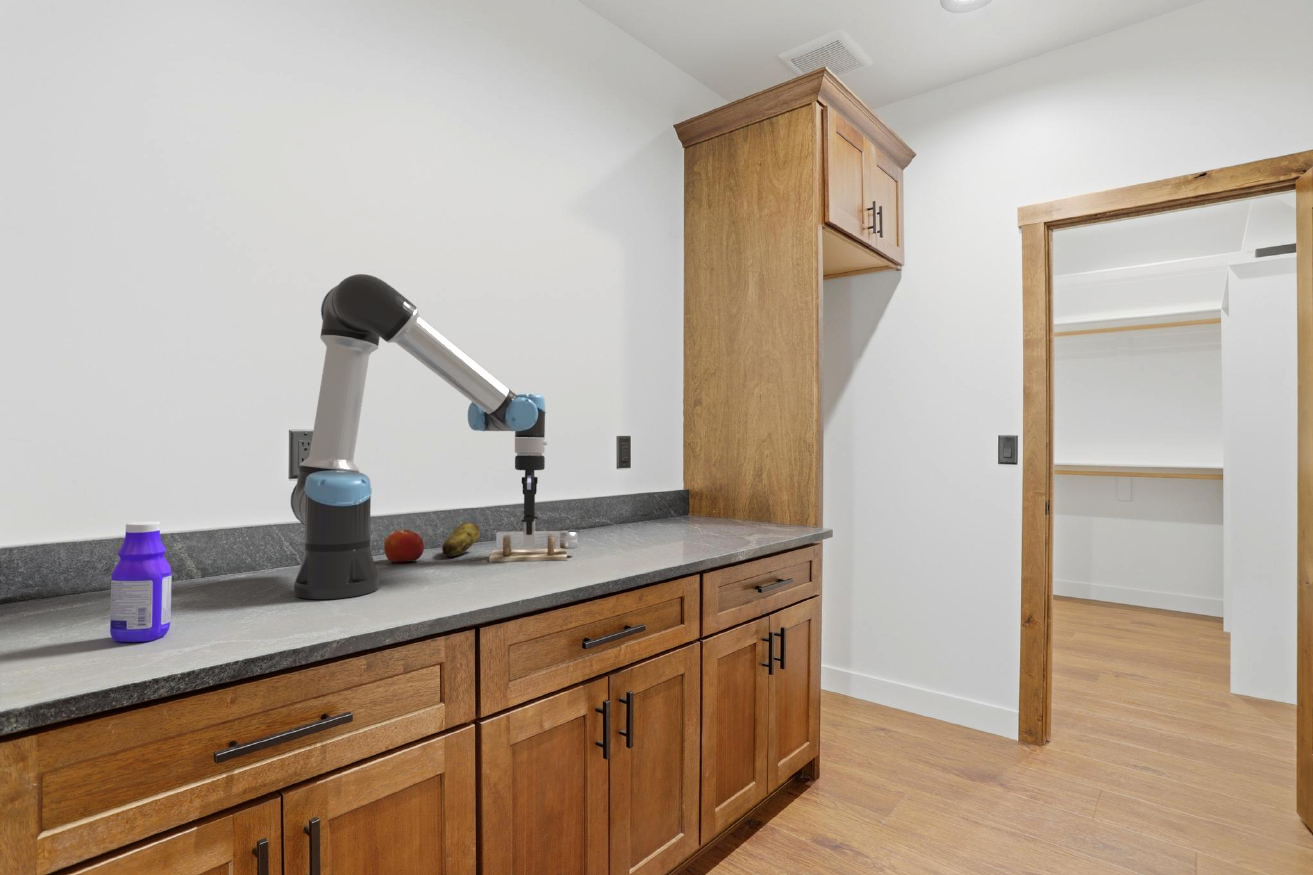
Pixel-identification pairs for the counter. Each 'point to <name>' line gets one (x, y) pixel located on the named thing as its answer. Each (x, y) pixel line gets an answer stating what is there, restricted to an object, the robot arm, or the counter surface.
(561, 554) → the rack
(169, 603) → the bottle
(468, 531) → the potato
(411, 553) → the tomato
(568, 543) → the clear glass container
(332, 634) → the counter surface
